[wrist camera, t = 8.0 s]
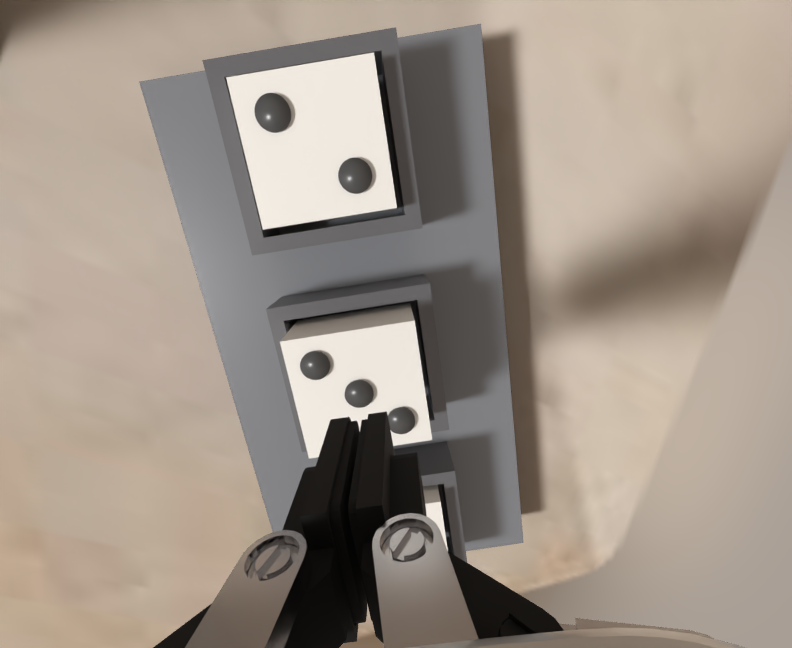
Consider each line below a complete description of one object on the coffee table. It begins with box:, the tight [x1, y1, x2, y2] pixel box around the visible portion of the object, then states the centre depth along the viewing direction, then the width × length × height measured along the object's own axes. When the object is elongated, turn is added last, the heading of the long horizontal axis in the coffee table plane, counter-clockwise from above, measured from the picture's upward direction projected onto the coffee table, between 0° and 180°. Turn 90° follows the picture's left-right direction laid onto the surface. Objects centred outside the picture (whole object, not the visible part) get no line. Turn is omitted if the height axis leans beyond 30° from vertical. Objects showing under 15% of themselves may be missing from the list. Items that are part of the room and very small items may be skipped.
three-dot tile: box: [280, 303, 432, 459], centre depth 16 cm, size 5×5×3 cm
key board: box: [140, 24, 523, 563], centre depth 19 cm, size 26×14×4 cm, turn 9°
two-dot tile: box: [226, 53, 397, 230], centre depth 15 cm, size 5×5×3 cm
